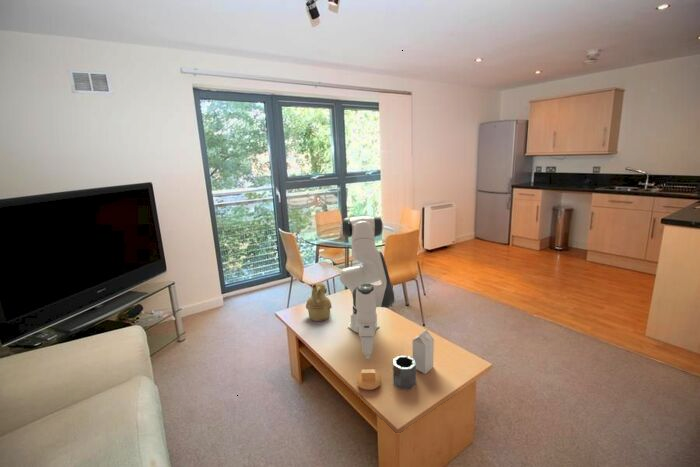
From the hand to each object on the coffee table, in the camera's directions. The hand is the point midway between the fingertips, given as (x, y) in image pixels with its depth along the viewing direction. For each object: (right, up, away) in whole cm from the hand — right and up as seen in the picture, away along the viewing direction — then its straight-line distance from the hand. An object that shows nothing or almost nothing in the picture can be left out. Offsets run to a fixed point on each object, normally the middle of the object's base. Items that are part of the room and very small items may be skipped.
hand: (367, 351), depth 138 cm
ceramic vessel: (-28, -3, +68) cm, 74 cm away
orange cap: (+1, -16, +4) cm, 17 cm away
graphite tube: (+17, -16, +5) cm, 23 cm away
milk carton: (+27, -13, +14) cm, 33 cm away
